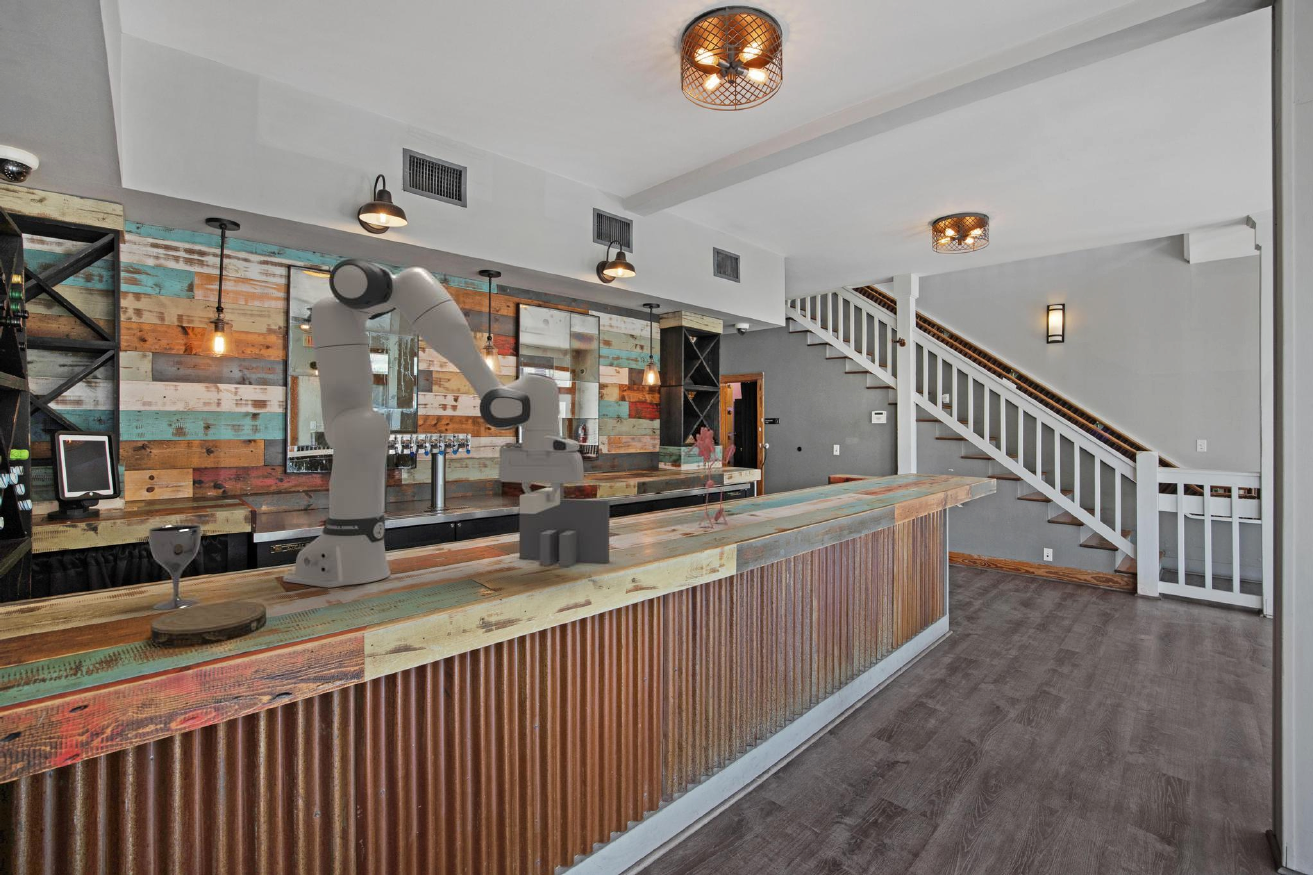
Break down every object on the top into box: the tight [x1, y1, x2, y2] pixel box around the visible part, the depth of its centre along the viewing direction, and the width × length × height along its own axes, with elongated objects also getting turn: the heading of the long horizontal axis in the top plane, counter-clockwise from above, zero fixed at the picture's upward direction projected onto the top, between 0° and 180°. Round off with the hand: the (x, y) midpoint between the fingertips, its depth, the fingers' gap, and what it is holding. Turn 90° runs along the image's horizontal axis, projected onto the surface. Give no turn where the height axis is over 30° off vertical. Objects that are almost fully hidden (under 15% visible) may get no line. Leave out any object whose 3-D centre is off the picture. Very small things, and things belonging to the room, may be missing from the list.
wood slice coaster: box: [150, 601, 267, 648], centre depth 105 cm, size 16×16×3 cm
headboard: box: [518, 498, 610, 568], centre depth 158 cm, size 24×8×16 cm, turn 79°
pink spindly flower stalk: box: [681, 426, 736, 528], centre depth 220 cm, size 15×26×35 cm, turn 142°
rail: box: [519, 483, 565, 514], centre depth 148 cm, size 4×22×6 cm, turn 168°
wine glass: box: [148, 524, 202, 611], centre depth 120 cm, size 8×8×15 cm
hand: (540, 501), depth 145 cm, fingers closed on rail, 3 cm apart
